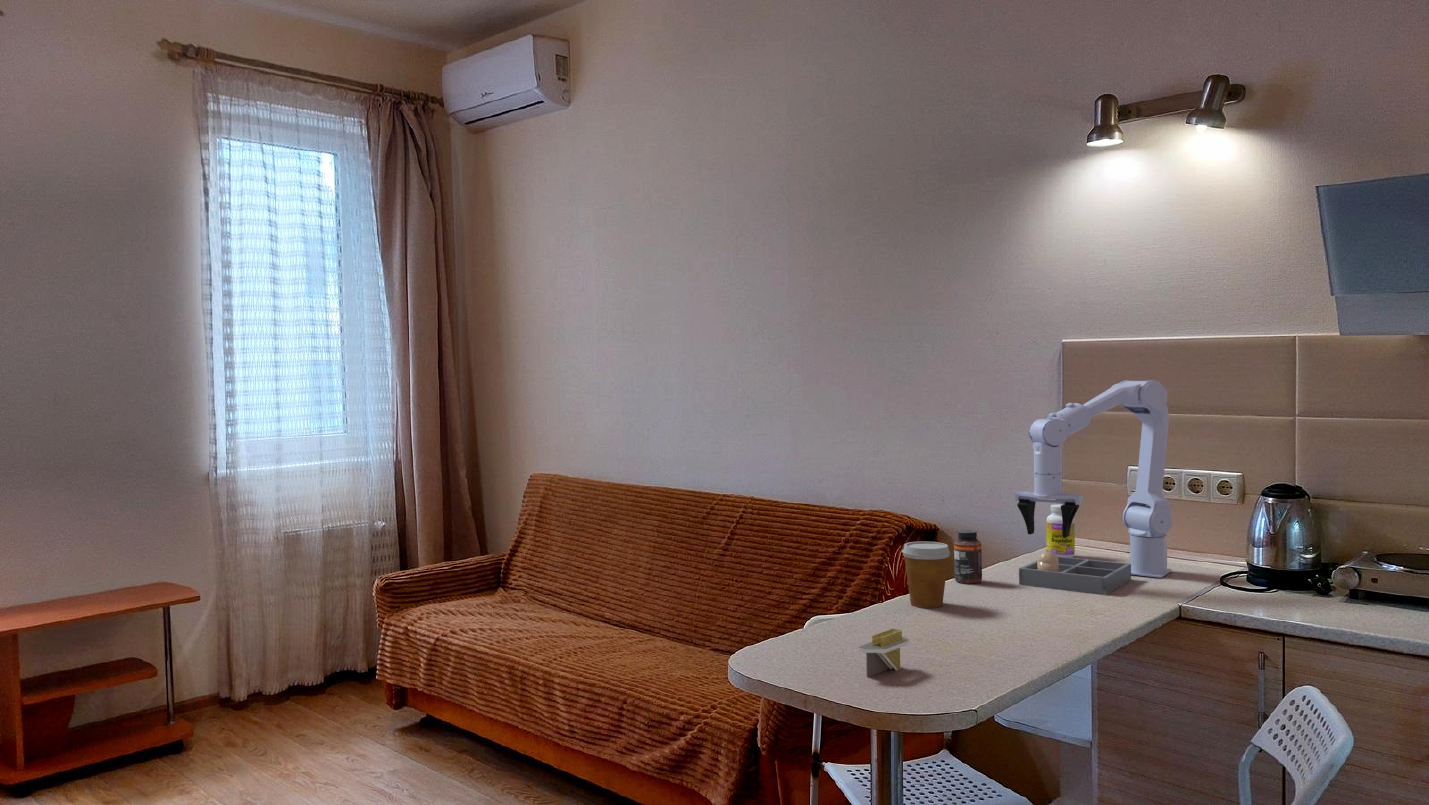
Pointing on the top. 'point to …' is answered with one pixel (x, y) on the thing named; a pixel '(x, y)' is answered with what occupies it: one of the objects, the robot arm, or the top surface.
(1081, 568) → the grey compartment tray
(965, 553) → the supplement bottle
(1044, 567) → the beige rounded peg
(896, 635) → the platform
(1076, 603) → the top surface
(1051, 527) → the supplement bottle
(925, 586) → the disposable coffee cup
